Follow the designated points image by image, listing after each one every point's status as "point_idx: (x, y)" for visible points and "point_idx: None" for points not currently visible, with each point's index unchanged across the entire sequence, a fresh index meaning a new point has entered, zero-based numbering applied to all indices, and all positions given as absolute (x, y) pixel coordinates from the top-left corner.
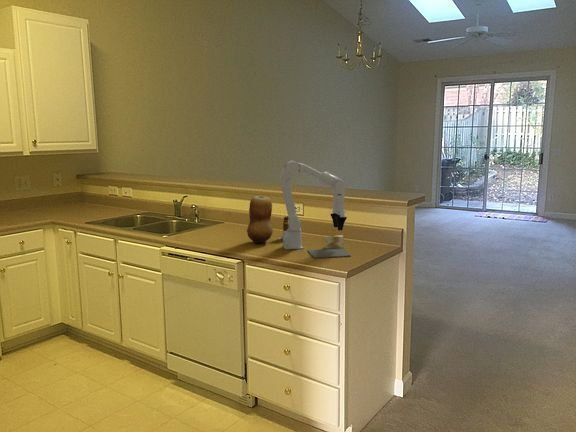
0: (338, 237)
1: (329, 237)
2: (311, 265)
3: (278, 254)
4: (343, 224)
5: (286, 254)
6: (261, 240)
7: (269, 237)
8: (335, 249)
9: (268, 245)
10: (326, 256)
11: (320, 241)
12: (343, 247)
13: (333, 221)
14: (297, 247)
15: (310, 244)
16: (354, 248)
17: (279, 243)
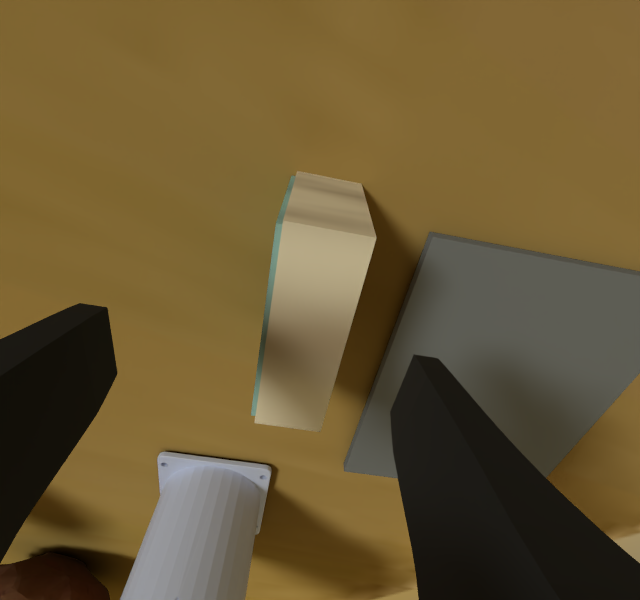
0: (353, 306)
1: (326, 403)
2: (630, 529)
3: (342, 562)
4: (533, 472)
5: (360, 544)
6: (108, 596)
7: (85, 592)
8: (434, 318)
9: (136, 551)
10: (572, 444)
11: (23, 284)
12: (361, 186)
13: (28, 507)
14: (259, 495)
15: (144, 392)
16: (465, 64)
17: (90, 512)
